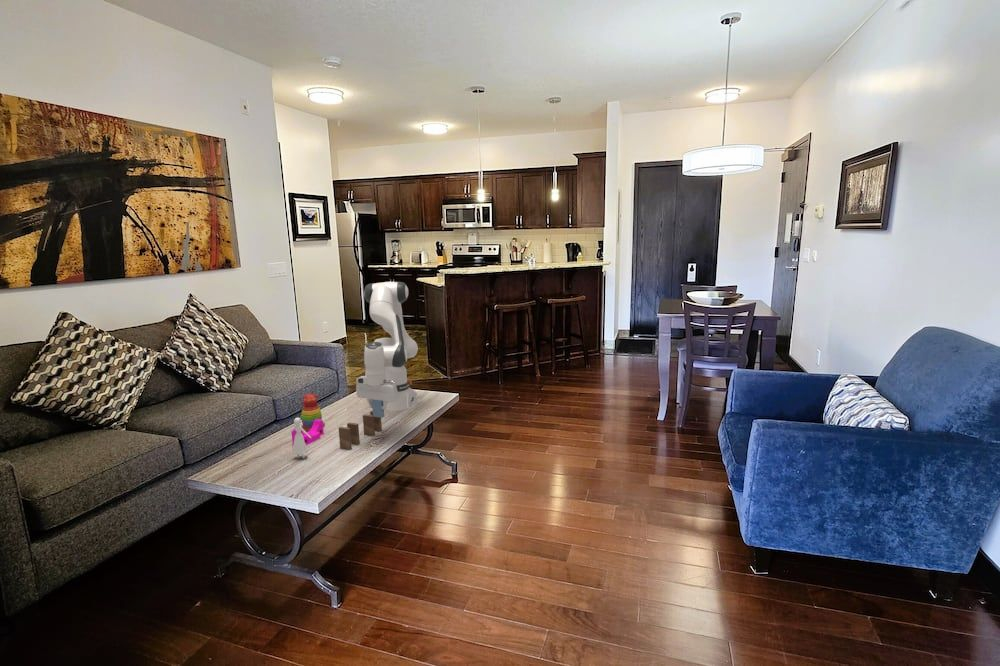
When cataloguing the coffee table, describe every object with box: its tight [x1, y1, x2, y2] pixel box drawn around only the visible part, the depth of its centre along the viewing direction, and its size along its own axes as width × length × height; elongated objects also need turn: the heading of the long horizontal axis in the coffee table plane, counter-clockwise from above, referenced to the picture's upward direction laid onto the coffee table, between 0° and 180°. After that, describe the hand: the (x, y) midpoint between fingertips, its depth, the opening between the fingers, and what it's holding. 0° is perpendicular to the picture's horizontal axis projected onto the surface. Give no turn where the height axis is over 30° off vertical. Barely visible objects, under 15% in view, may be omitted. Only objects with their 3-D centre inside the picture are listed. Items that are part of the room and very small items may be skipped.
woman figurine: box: [286, 417, 311, 459], centre depth 199 cm, size 12×4×18 cm, turn 79°
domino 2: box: [346, 422, 361, 446], centre depth 213 cm, size 2×5×10 cm, turn 68°
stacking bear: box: [300, 393, 326, 433], centre depth 232 cm, size 11×10×18 cm
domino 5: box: [369, 410, 383, 433], centre depth 228 cm, size 2×5×10 cm, turn 68°
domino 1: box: [338, 426, 353, 451], centre depth 208 cm, size 2×5×10 cm, turn 68°
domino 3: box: [362, 414, 376, 437], centre depth 223 cm, size 2×5×10 cm, turn 68°
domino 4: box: [371, 399, 385, 419], centre depth 212 cm, size 2×5×10 cm, turn 68°
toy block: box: [290, 419, 325, 446], centre depth 220 cm, size 15×6×8 cm, turn 155°
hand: (378, 408), depth 213 cm, fingers closed on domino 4, 5 cm apart
